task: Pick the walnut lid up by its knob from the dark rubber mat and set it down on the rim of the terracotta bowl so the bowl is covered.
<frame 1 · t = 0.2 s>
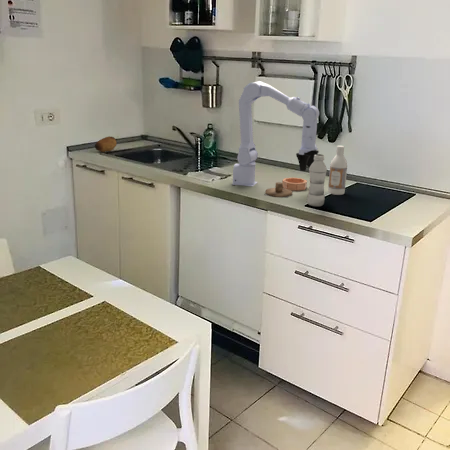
hand: (306, 169, 220), 10 cm above the kitchen counter, fingers open, 7 cm apart
plastic bottle: (315, 206, 204), on the kitchen counter
mat: (278, 194, 218), on the kitchen counter
potato: (106, 152, 291), on the kitchen counter
lid: (278, 193, 218), resting on mat
bath foam: (336, 193, 222), on the kitchen counter
bowl: (294, 188, 228), on the kitchen counter
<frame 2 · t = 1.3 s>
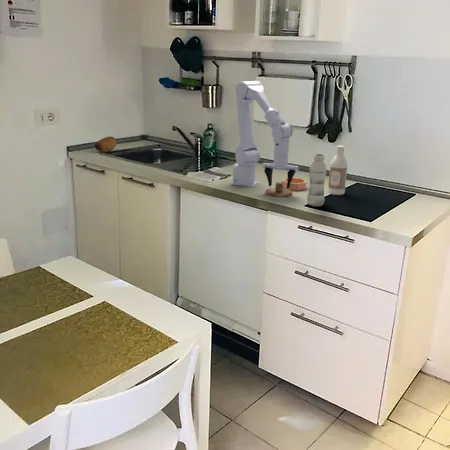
hand: (279, 186, 217), 3 cm above the kitchen counter, fingers open, 7 cm apart
nothing on the kitchen counter moved.
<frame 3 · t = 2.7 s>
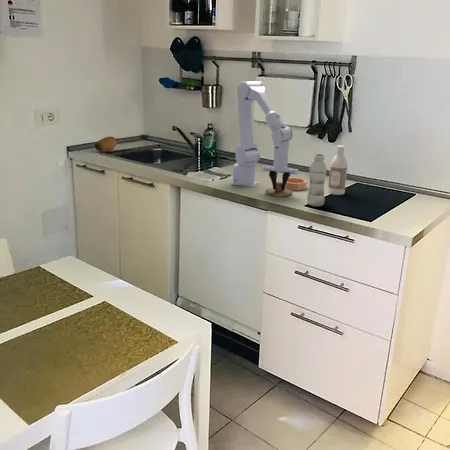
hand: (278, 189, 218), 2 cm above the kitchen counter, fingers closed on lid, 3 cm apart
lid: (278, 193, 218), resting on mat, touching gripper
everything else where it was.
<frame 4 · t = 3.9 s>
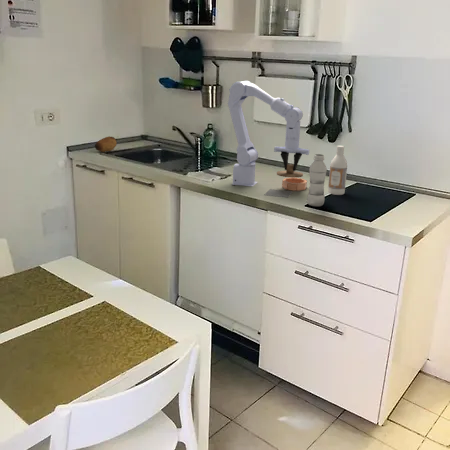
hand: (290, 170, 221), 9 cm above the kitchen counter, fingers closed on lid, 3 cm apart
lid: (289, 174, 222), point 7 cm above the kitchen counter, touching gripper
everything else where it was.
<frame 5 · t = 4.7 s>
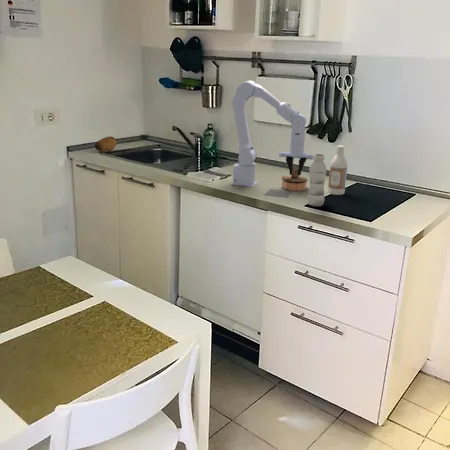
hand: (295, 174, 226), 6 cm above the kitchen counter, fingers closed on lid, 3 cm apart
lid: (294, 179, 226), point 4 cm above the kitchen counter, touching gripper
everything else where it was.
when the fingers open (6 cm above the kitchen counter, at t = 5.4 s): lid stays where it is, resting on bowl.
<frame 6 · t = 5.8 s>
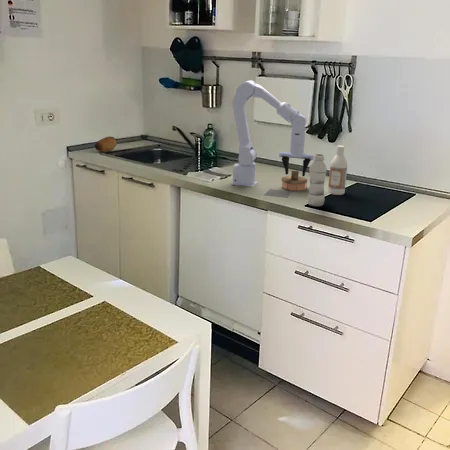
hand: (295, 174, 226), 6 cm above the kitchen counter, fingers open, 7 cm apart
lid: (294, 180, 226), point 3 cm above the kitchen counter, touching bowl
everything else where it was.
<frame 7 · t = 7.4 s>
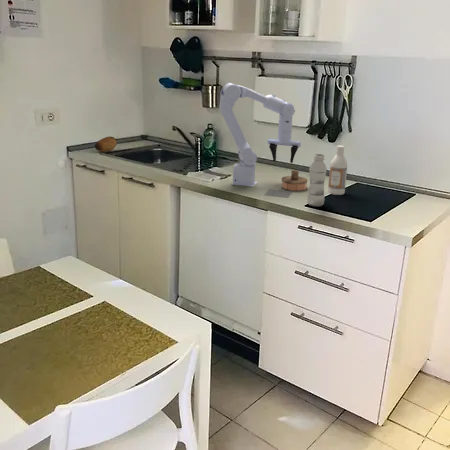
hand: (283, 161, 232), 10 cm above the kitchen counter, fingers open, 7 cm apart
nothing on the kitchen counter moved.
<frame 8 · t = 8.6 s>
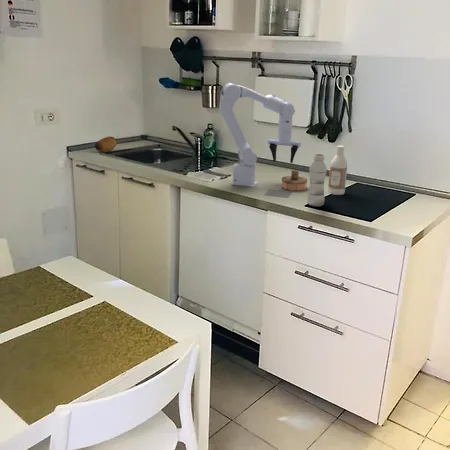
hand: (283, 161, 232), 10 cm above the kitchen counter, fingers open, 7 cm apart
nothing on the kitchen counter moved.
at the end: lid 0.7 cm off-centre on the bowl, point 3.5 cm above the bowl's base; lid tilted 0°; the gripper is holding nothing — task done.
